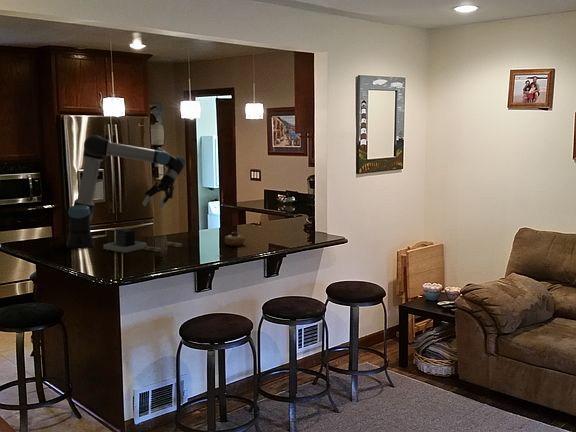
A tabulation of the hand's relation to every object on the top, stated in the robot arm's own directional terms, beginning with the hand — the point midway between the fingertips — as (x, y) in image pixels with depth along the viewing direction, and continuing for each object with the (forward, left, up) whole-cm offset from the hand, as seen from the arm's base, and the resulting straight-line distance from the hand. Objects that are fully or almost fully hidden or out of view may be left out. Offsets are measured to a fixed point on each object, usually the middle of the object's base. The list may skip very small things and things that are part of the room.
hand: (151, 205), depth 366 cm
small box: (-4, -18, -23) cm, 29 cm away
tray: (-4, -18, -23) cm, 29 cm away
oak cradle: (+13, -5, -23) cm, 27 cm away
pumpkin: (+40, +27, -24) cm, 53 cm away
